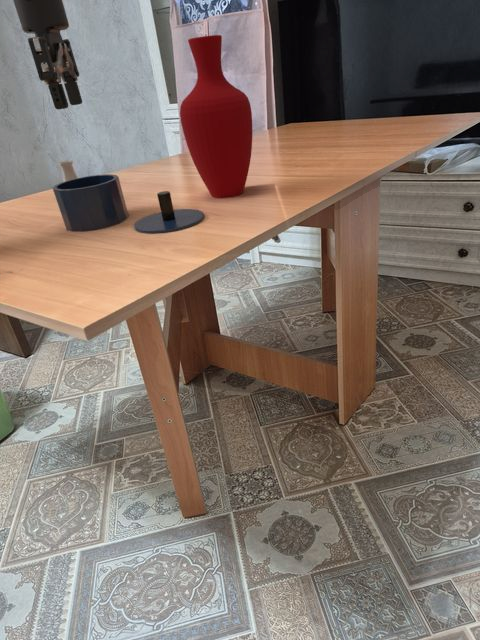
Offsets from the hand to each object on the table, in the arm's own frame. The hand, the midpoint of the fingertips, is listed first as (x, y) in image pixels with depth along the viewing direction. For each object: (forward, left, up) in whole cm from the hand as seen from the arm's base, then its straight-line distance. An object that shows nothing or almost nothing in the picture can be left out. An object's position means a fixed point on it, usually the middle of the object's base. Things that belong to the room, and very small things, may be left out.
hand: (69, 106), depth 85 cm
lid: (+15, -7, -21) cm, 27 cm away
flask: (-11, +20, -22) cm, 32 cm away
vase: (+26, +10, -22) cm, 35 cm away
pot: (-1, 0, -22) cm, 22 cm away
